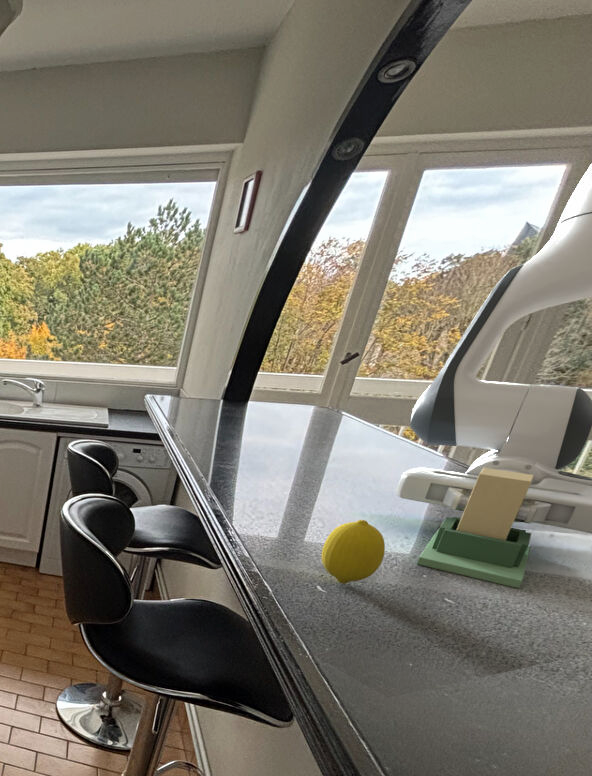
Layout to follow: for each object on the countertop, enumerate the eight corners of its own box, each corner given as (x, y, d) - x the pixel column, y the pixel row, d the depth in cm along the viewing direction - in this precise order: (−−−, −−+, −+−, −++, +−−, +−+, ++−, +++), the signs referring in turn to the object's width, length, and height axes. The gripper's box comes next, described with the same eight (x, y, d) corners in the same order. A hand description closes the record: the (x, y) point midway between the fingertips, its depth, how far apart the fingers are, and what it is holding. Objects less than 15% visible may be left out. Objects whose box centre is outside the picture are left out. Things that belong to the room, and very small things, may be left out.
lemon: (347, 596, 67) (370, 530, 64) (302, 576, 72) (321, 514, 69) (383, 590, 68) (407, 526, 65) (337, 571, 73) (357, 510, 70)
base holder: (436, 534, 85) (446, 508, 83) (527, 553, 79) (540, 525, 77) (416, 564, 75) (427, 535, 74) (518, 588, 69) (533, 557, 67)
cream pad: (454, 539, 79) (483, 467, 76) (500, 549, 76) (534, 474, 73) (449, 547, 77) (479, 473, 73) (497, 558, 74) (531, 481, 70)
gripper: (413, 453, 88) (394, 469, 80) (624, 483, 74) (628, 506, 66) (399, 493, 91) (379, 512, 82) (600, 529, 77) (601, 557, 68)
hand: (491, 510), depth 74 cm, fingers closed on cream pad, 4 cm apart
